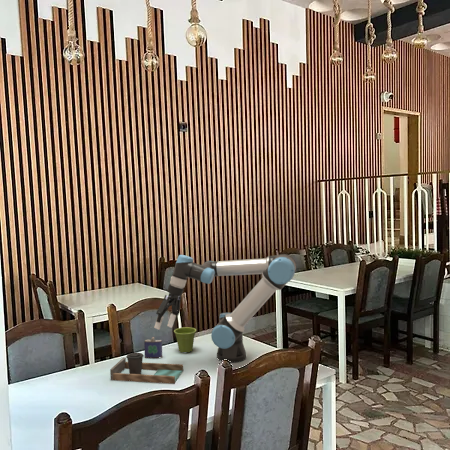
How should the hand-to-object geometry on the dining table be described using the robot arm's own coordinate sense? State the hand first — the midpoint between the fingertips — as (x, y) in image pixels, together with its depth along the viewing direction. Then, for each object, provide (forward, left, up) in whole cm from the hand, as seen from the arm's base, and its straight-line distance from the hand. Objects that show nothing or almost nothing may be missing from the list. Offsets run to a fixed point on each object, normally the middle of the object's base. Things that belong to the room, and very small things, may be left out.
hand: (163, 327), depth 242 cm
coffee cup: (+10, +12, -19) cm, 25 cm away
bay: (+4, +12, -19) cm, 23 cm away
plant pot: (-5, -24, -19) cm, 31 cm away
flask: (+9, -12, -19) cm, 25 cm away
